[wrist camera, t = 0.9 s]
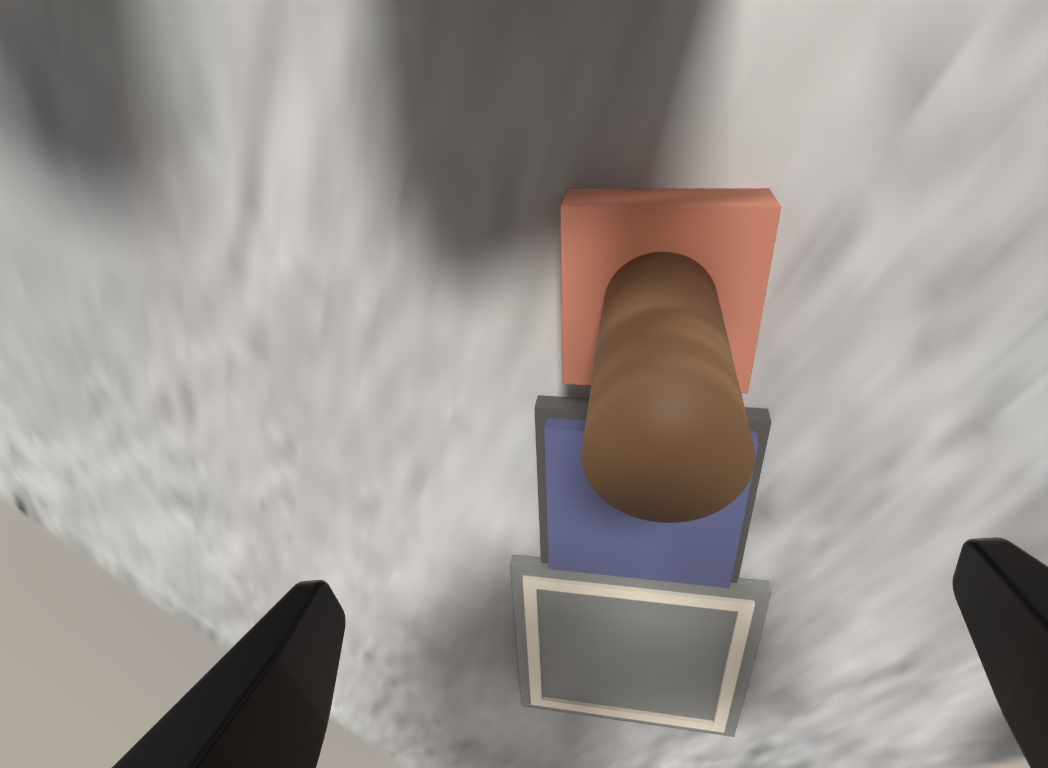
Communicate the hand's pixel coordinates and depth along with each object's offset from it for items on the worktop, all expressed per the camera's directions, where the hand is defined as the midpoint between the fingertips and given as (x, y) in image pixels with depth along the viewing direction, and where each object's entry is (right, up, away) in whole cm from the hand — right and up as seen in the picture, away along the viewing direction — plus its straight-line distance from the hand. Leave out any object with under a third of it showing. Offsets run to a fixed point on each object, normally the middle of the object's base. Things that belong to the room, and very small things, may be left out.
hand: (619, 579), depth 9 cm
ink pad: (+4, -1, +16) cm, 16 cm away
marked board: (+4, -10, +22) cm, 24 cm away
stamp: (+3, +6, +11) cm, 13 cm away
